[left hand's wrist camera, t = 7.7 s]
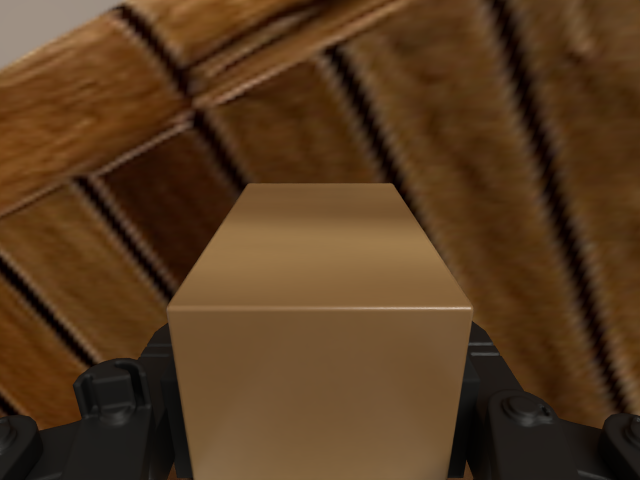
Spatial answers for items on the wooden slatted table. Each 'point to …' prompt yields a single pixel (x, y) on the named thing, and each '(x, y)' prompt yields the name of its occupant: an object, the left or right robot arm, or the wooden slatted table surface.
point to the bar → (320, 340)
